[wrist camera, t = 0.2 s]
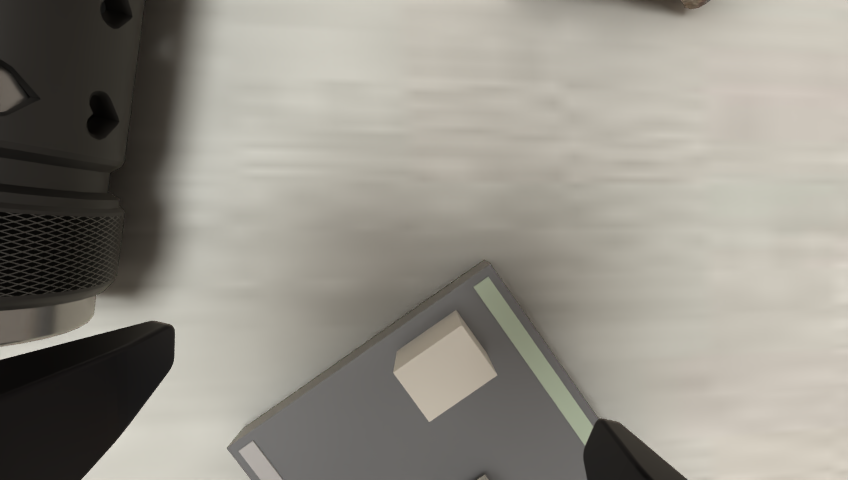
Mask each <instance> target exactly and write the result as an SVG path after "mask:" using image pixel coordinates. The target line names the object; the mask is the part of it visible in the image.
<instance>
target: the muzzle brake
mask: <svg viewBox="0 0 848 480" xmlns="http://www.w3.org/2000/svg"><path fill="white" fill-rule="evenodd" d="M144 4H145V0H0V347H2V346H8V345H15V344H22V343H27V342H31V341H36V340H41V339H46V338H50V337H53V336H57V335H60V334H64V333H67V332H70V331H72V330H75V329H77V328H79V327H81V326H83V325H85V324H86V323H88V322H89V321H90V319H91V318H92V317H93V315H94V310H95V302H96V295H98V294H100V293H102V292H103V291H104V290H105V289H106V288H107V287H108V286H109V285H110V284H111V283H112V282H113V281H114V280H115V278H116V276H117V270H118V262H119V254H120V247H121V239H122V231H123V223H124V215H125V213H124V210H123V209H122V208H121V207H120V198H118V197H116V196H115V195H113V194H111V193H110V192H108V188H109V179H110V173H111V172H113V171H115V170H116V169H118V168H120V167H121V166H122V165H123V164H124V161H125V154H126V146H127V138H128V130H129V122H130V114H131V106H132V99H133V91H134V83H135V75H136V67H137V59H138V51H139V43H140V36H141V28H142V20H143V12H144Z"/></svg>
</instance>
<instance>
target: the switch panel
mask: <svg viewBox="0 0 848 480" xmlns="http://www.w3.org/2000/svg"><path fill="white" fill-rule="evenodd" d="M597 420H598V417H597V416H596V414H595V413H594V412H593V410H592V409H591V407H590V406H589V404H588V403H587V401H586V400H585V399H584V397H583V396H582V394H581V393H580V391H579V390H578V389H577V387H576V386H575V384H574V383H573V381H572V380H571V379H570V377H569V376H568V374H567V373H566V371H565V370H564V369H563V367H562V366H561V364H560V363H559V361H558V360H557V359H556V357H555V356H554V354H553V353H552V351H551V350H550V348H549V347H548V346H547V344H546V343H545V341H544V340H543V338H542V337H541V336H540V334H539V333H538V331H537V330H536V328H535V327H534V326H533V324H532V323H531V321H530V320H529V318H528V317H527V316H526V314H525V313H524V311H523V310H522V308H521V307H520V305H519V304H518V303H517V301H516V300H515V298H514V297H513V295H512V294H511V293H510V291H509V290H508V288H507V287H506V285H505V284H504V283H503V281H502V280H501V278H500V277H499V275H498V274H497V273H496V271H495V270H494V268H493V267H492V265H491V264H490V263H488V262H487V261H486V260H483V261H482V262H481V263H479V264H478V265H476V266H475V267H473V268H472V269H471V270H469V271H468V272H466V273H465V274H463V275H462V276H461V277H459V278H458V279H456V280H455V281H453V282H452V283H451V284H449V285H448V286H446V287H445V288H443V289H442V290H440V291H439V292H438V293H436V294H435V295H433V296H432V297H430V298H429V299H428V300H426V301H425V302H423V303H422V304H420V305H419V306H418V307H416V308H415V309H413V310H412V311H410V312H409V313H408V314H406V315H405V316H403V317H402V318H400V319H399V320H398V321H396V322H395V323H393V324H392V325H390V326H389V327H388V328H386V329H385V330H383V331H382V332H380V333H379V334H378V335H376V336H375V337H373V338H372V339H370V340H369V341H368V342H366V343H365V344H363V345H362V346H360V347H359V348H357V349H356V350H355V351H353V352H352V353H350V354H349V355H347V356H346V357H345V358H343V359H342V360H340V361H339V362H337V363H336V364H335V365H333V366H332V367H330V368H329V369H327V370H326V371H325V372H323V373H322V374H320V375H319V376H317V377H316V378H315V379H313V380H312V381H310V382H309V383H307V384H306V385H305V386H303V387H302V388H300V389H299V390H297V391H296V392H295V393H293V394H292V395H290V396H289V397H287V398H286V399H285V400H283V401H282V402H280V403H279V404H277V405H276V406H274V407H273V408H272V409H270V410H269V411H267V412H266V413H264V414H263V415H262V416H260V417H259V418H257V419H256V420H254V421H253V422H252V423H250V424H249V425H247V426H246V427H244V428H243V429H242V430H241V431H240V433H239V434H238V435H237V436H236V437H235V439H234V440H233V441H232V442H231V443H230V445H229V446H228V447H227V449H228V450H229V452H230V453H231V454H232V456H233V457H234V458H235V459H236V461H237V462H238V463H239V465H240V466H241V467H242V469H243V470H244V471H245V472H246V474H247V475H248V476H249V478H250V479H251V480H477V479H479V478H480V477H482V476H483V475H486V477H487V478H488V480H587V477H586V471H585V466H584V461H583V452H584V447H585V445H586V442H587V440H588V438H589V435H590V433H591V431H592V428H593V426H594V424H595V422H596V421H597Z"/></svg>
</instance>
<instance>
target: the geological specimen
mask: <svg viewBox="0 0 848 480" xmlns="http://www.w3.org/2000/svg"><path fill="white" fill-rule="evenodd" d="M681 1H682V2H683V5H684V7H685V8H689V9H694V8H699V7H700V6H702V5H704V4H706V3H707V2H708V1H710V0H681Z"/></svg>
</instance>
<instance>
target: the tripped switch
mask: <svg viewBox="0 0 848 480" xmlns="http://www.w3.org/2000/svg"><path fill="white" fill-rule="evenodd" d="M477 480H488V478H487V477H486V475H483V476H482V477H480V478H479V479H477Z"/></svg>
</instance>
